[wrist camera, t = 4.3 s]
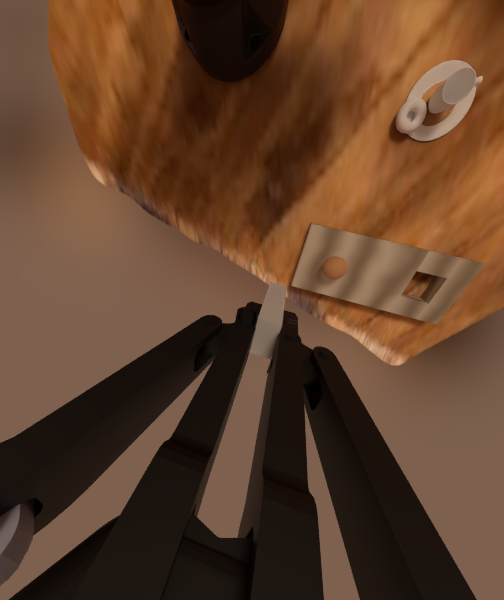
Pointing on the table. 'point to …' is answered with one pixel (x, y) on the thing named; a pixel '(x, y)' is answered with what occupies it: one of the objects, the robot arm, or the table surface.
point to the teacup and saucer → (439, 100)
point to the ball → (334, 267)
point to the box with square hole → (382, 273)
